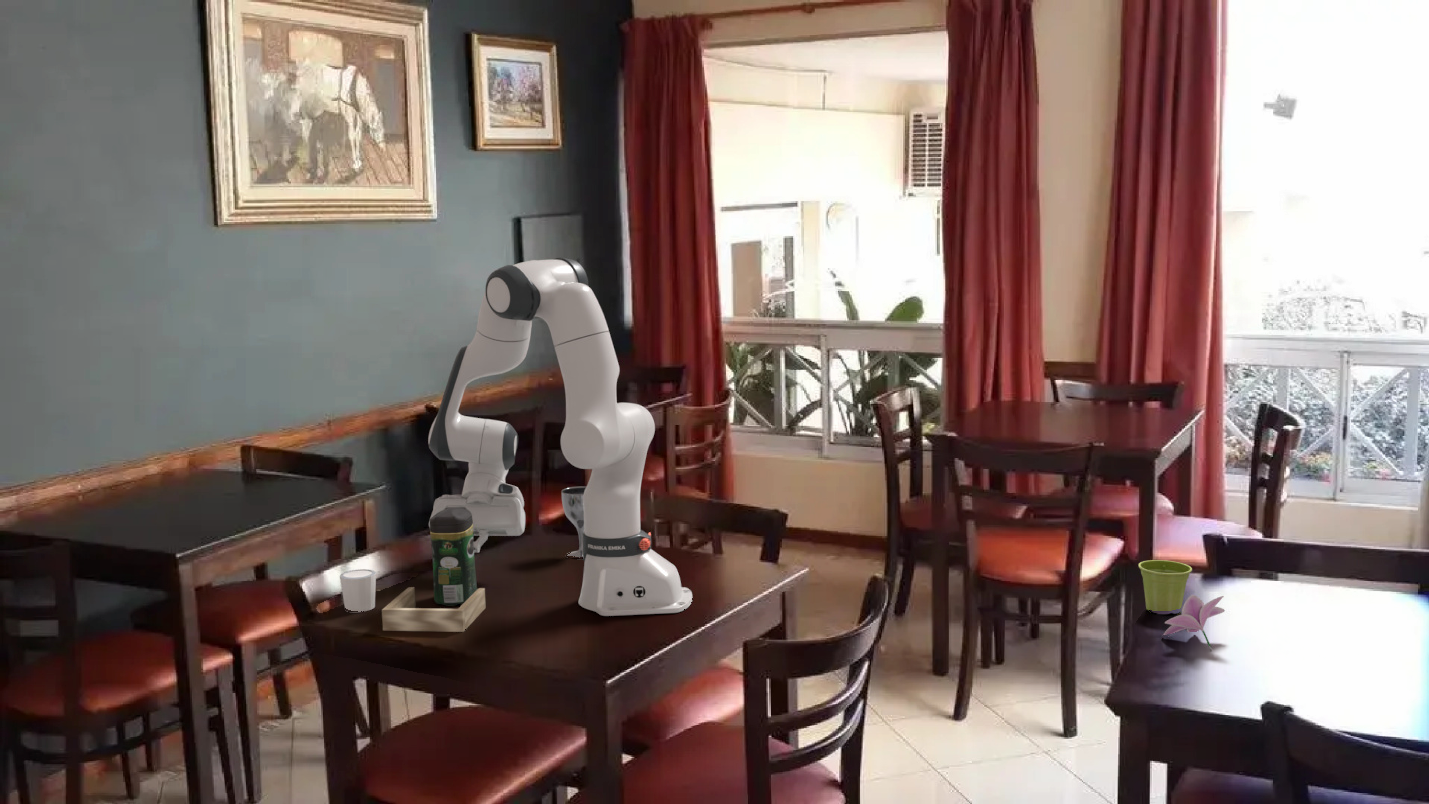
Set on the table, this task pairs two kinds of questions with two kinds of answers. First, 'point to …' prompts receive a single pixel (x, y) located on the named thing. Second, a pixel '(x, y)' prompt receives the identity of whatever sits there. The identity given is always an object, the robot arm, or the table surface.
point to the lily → (1194, 615)
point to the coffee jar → (453, 556)
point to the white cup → (358, 589)
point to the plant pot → (1164, 584)
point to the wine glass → (575, 511)
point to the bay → (430, 614)
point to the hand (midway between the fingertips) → (471, 551)
